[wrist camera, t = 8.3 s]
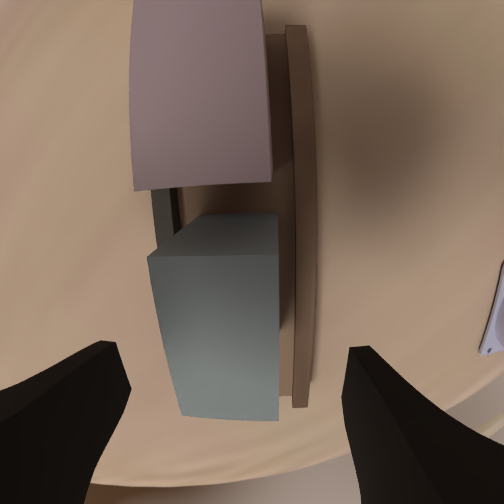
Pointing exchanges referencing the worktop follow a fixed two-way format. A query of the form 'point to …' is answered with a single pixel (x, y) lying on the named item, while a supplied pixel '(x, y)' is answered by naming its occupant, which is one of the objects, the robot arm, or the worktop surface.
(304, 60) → the shelf ledge
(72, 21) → the worktop surface
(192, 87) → the box
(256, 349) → the box
